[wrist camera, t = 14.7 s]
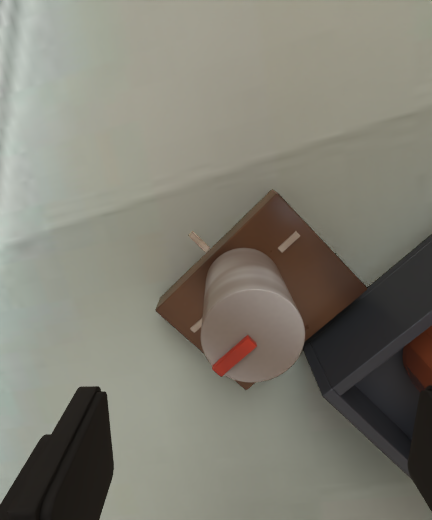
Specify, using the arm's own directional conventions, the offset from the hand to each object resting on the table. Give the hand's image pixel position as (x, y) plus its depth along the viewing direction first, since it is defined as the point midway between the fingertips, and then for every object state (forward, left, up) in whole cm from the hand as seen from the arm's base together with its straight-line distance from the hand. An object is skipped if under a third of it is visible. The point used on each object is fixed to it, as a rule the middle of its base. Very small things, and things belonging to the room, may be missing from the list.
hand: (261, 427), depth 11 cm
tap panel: (0, +1, -14) cm, 13 cm away
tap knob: (0, 0, -11) cm, 11 cm away
